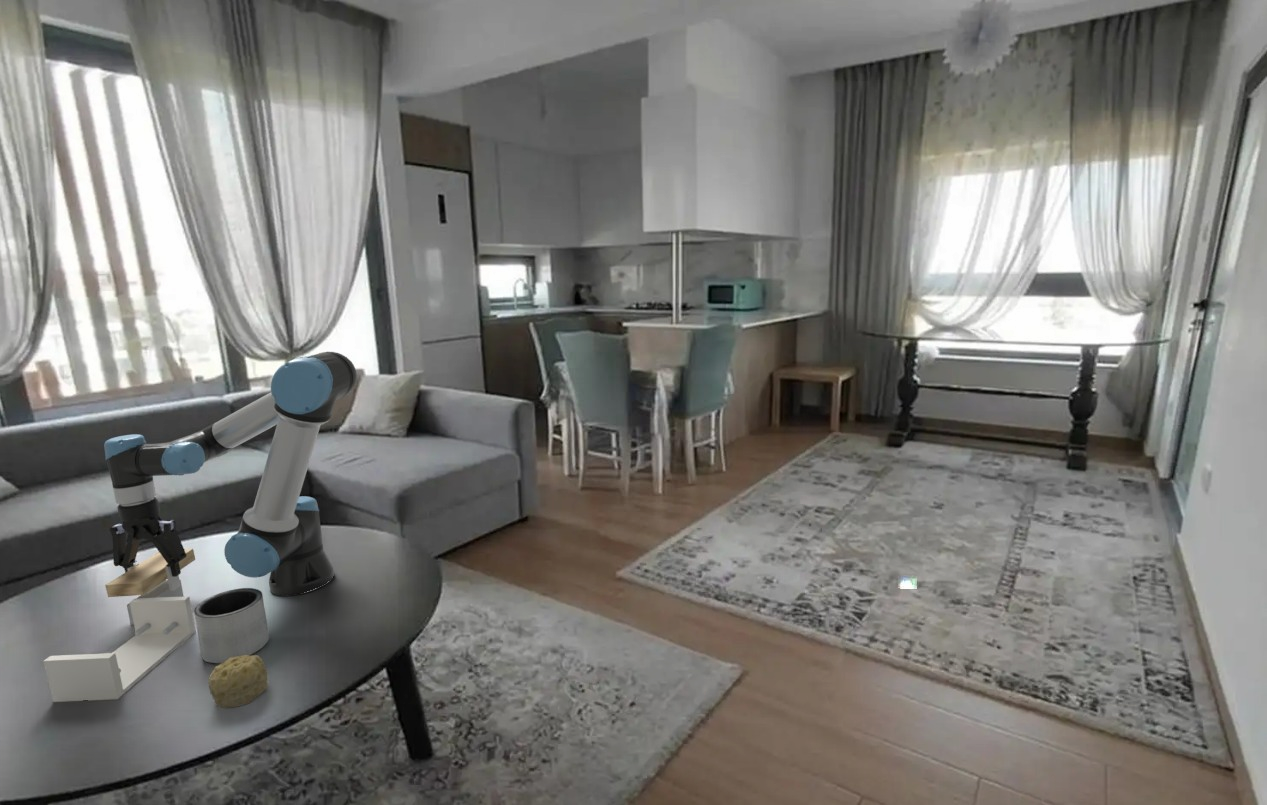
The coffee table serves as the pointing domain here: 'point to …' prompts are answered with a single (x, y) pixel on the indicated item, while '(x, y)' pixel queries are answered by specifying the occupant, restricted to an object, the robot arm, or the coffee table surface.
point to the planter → (231, 624)
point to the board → (144, 576)
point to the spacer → (158, 594)
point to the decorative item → (238, 681)
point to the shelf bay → (123, 653)
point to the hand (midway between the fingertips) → (157, 589)
